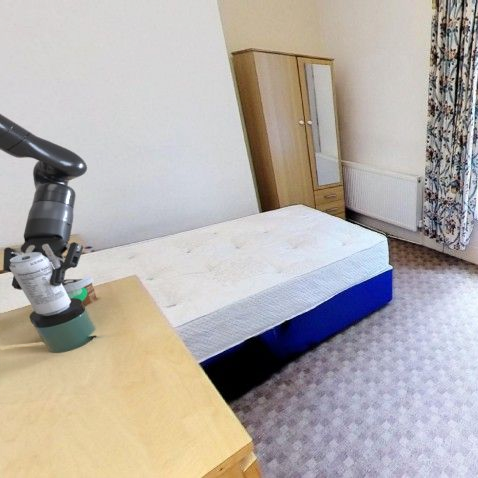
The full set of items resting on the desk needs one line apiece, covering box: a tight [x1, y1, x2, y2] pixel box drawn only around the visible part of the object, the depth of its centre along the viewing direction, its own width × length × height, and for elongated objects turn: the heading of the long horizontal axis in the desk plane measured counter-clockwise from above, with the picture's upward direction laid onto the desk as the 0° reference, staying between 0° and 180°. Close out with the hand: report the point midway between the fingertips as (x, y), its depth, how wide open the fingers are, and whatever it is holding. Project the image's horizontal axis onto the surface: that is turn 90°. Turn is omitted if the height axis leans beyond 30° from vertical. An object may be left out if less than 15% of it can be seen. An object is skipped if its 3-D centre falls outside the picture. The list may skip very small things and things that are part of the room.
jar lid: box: [28, 298, 86, 327], centre depth 81 cm, size 9×9×2 cm
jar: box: [33, 307, 96, 354], centre depth 83 cm, size 9×9×10 cm
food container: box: [62, 275, 98, 307], centre depth 93 cm, size 12×6×10 cm, turn 106°
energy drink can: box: [10, 252, 71, 316], centre depth 77 cm, size 6×6×15 cm
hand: (37, 286), depth 76 cm, fingers closed on energy drink can, 6 cm apart
